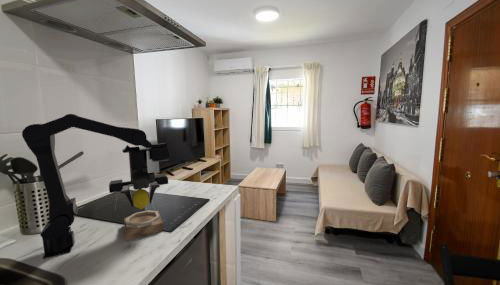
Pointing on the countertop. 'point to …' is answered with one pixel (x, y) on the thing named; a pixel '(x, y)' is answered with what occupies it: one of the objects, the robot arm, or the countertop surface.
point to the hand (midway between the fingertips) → (141, 205)
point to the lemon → (140, 198)
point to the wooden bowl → (142, 224)
